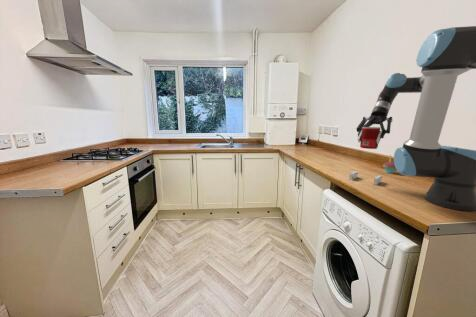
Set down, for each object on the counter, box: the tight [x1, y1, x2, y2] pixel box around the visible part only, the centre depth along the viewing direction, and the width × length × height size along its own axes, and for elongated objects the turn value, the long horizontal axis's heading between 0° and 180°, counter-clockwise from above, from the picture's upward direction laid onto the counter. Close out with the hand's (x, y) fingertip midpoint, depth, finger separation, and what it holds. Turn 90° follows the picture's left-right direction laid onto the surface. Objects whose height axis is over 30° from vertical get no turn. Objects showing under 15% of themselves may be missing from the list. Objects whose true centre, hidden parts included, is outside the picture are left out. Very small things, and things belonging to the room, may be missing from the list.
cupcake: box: [382, 154, 397, 174], centre depth 132 cm, size 9×8×12 cm
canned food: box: [359, 126, 381, 150], centre depth 107 cm, size 8×8×11 cm
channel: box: [349, 170, 383, 186], centre depth 114 cm, size 9×13×4 cm
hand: (367, 141), depth 106 cm, fingers closed on canned food, 8 cm apart
